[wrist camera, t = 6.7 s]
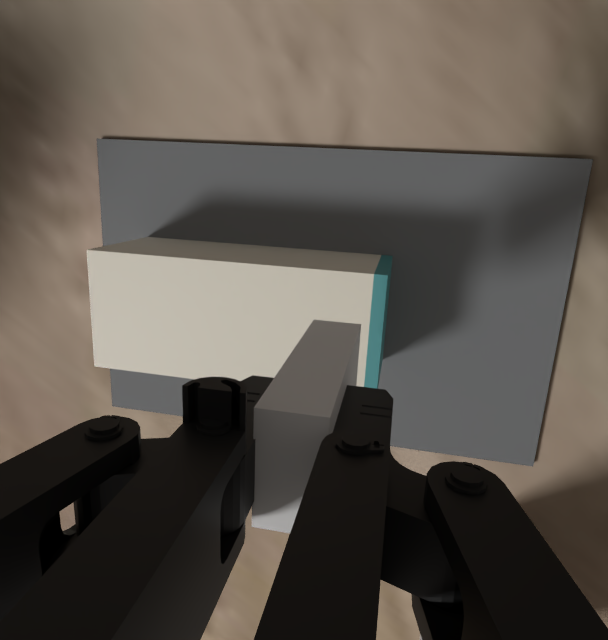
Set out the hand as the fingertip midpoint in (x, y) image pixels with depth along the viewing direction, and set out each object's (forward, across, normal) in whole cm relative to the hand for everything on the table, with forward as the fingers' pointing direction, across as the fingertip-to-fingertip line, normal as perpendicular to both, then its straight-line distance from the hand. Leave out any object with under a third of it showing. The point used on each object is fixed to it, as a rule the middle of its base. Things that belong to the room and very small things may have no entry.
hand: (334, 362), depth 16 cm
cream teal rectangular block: (+6, +1, 0) cm, 6 cm away
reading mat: (+9, -2, 0) cm, 9 cm away
